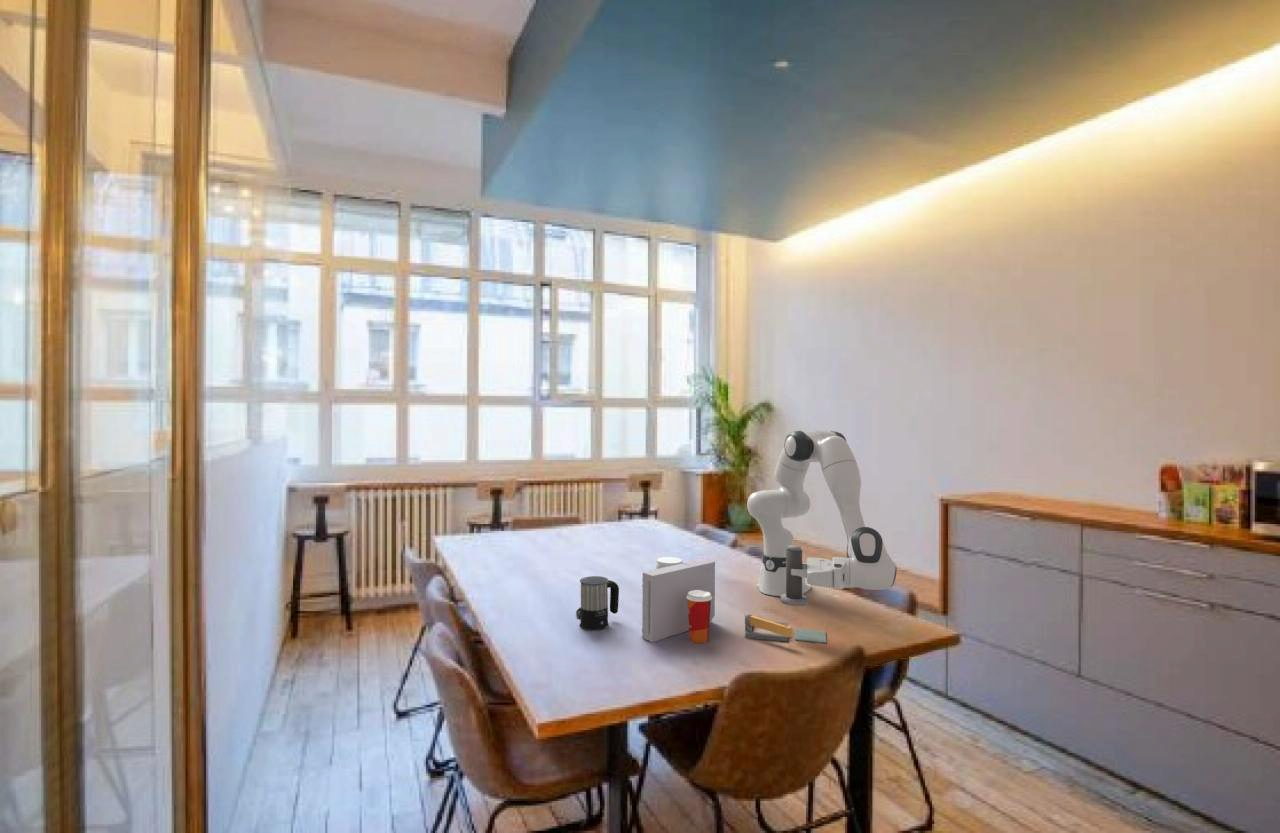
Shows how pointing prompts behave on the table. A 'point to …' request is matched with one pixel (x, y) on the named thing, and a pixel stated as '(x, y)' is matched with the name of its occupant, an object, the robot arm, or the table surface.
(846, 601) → the table surface
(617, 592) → the milk frother
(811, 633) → the pad
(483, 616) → the table surface
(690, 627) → the paper cup
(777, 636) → the gray angle bracket
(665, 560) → the supplement tub
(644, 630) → the game console
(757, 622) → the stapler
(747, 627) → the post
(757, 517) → the robot arm
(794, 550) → the plug
